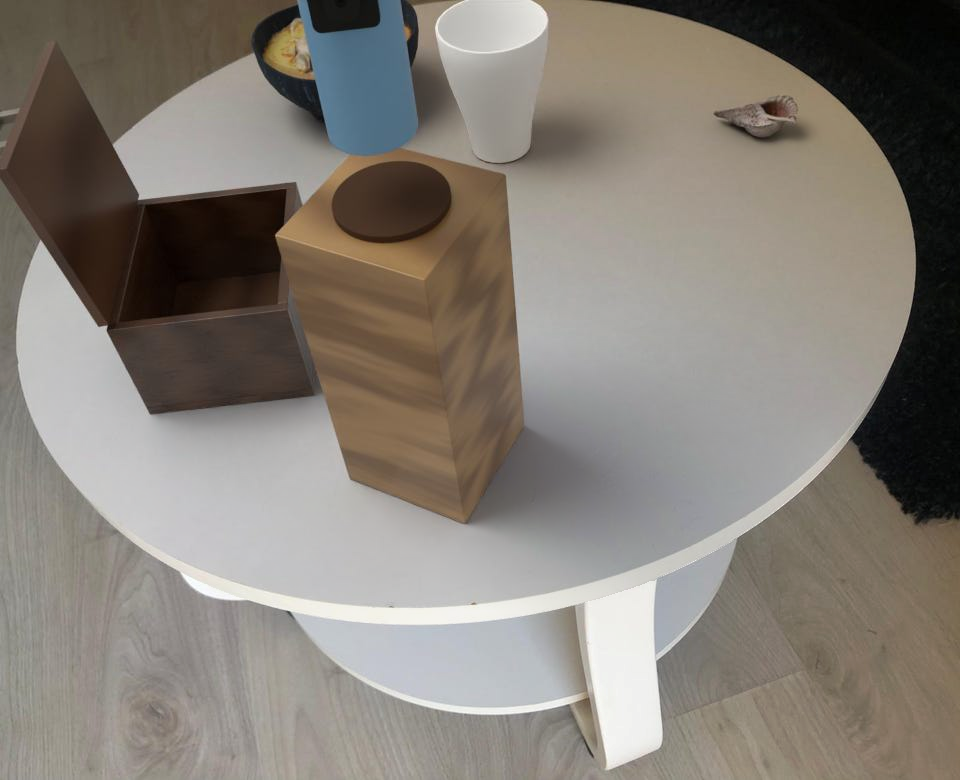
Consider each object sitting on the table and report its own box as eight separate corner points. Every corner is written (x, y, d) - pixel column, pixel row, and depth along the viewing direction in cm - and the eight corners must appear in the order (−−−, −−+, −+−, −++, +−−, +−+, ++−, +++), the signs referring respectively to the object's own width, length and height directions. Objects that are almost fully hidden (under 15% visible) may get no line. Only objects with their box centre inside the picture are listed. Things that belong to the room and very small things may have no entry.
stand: (465, 524, 72) (424, 280, 54) (348, 478, 75) (274, 235, 57) (524, 425, 77) (506, 173, 59) (414, 387, 81) (364, 138, 63)
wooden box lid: (56, 40, 73) (-14, 54, 73) (6, 168, 63) (-75, 184, 63) (139, 194, 84) (78, 206, 84) (108, 325, 73) (39, 338, 74)
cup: (572, 153, 99) (570, 28, 89) (480, 190, 97) (467, 66, 87) (520, 104, 106) (513, -17, 96) (432, 138, 103) (415, 16, 93)
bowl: (272, 73, 114) (250, -10, 106) (420, 52, 114) (408, -33, 107) (271, 161, 103) (246, 75, 95) (435, 137, 103) (423, 49, 96)
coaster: (414, 255, 55) (413, 249, 55) (309, 225, 57) (308, 218, 57) (472, 182, 59) (471, 175, 58) (372, 157, 61) (371, 150, 61)
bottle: (389, 164, 52) (344, -86, 43) (311, 144, 54) (250, -100, 44) (434, 113, 55) (402, -133, 45) (358, 96, 57) (311, -145, 47)
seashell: (787, 144, 100) (777, 156, 97) (716, 111, 102) (705, 121, 99) (807, 103, 97) (798, 114, 94) (735, 70, 99) (723, 80, 96)
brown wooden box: (319, 267, 91) (296, 181, 84) (314, 395, 81) (287, 310, 74) (173, 284, 91) (136, 199, 84) (149, 414, 81) (105, 330, 74)
